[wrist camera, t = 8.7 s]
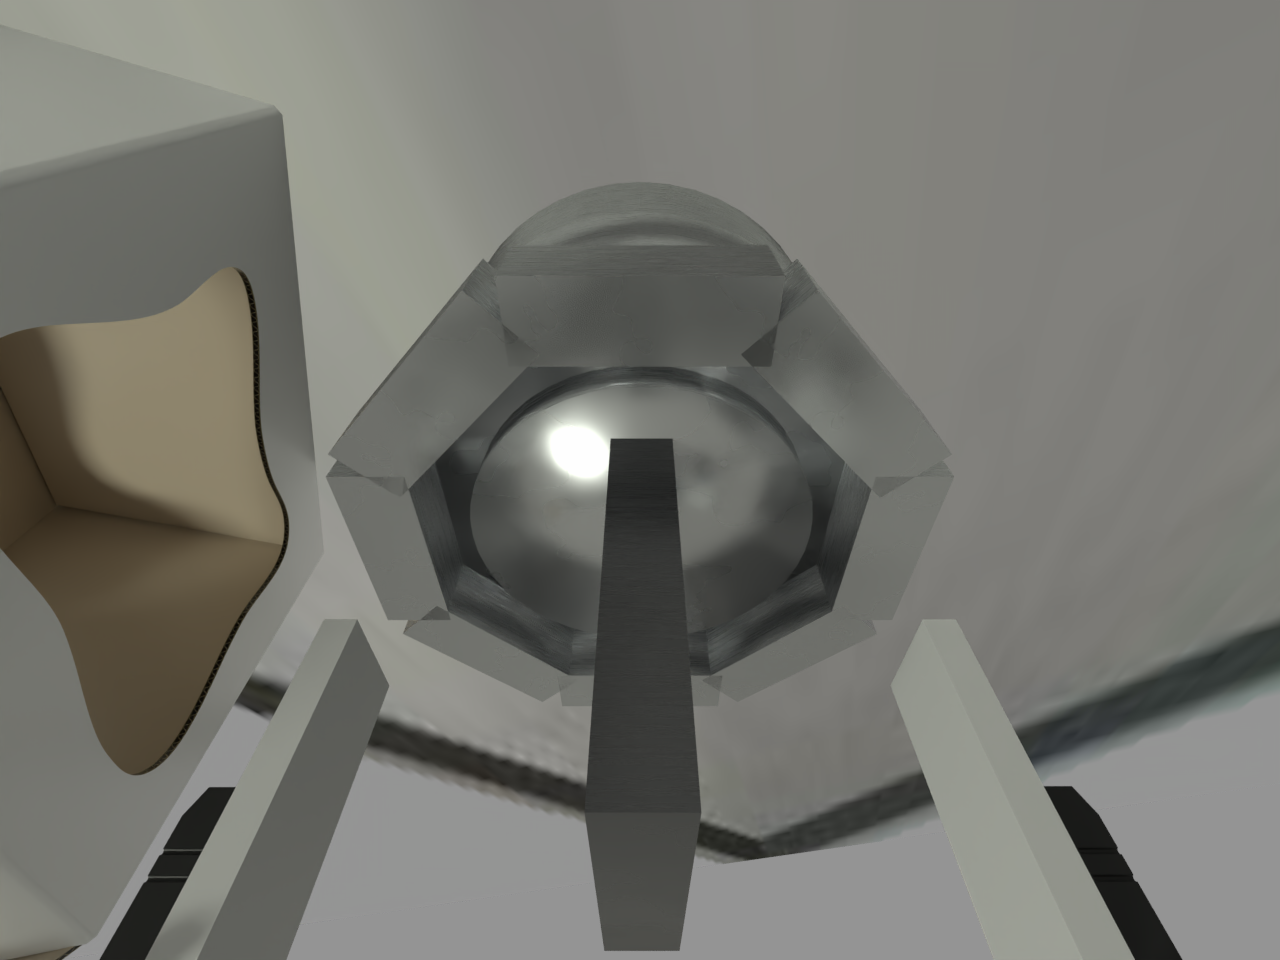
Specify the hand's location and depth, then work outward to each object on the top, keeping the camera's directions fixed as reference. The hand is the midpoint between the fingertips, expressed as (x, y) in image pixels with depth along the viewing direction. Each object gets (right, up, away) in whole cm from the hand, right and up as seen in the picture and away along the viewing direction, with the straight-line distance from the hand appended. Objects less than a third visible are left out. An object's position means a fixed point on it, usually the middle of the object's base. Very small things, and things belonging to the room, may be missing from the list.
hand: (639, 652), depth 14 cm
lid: (0, +3, +4) cm, 5 cm away
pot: (0, +7, +13) cm, 14 cm away
